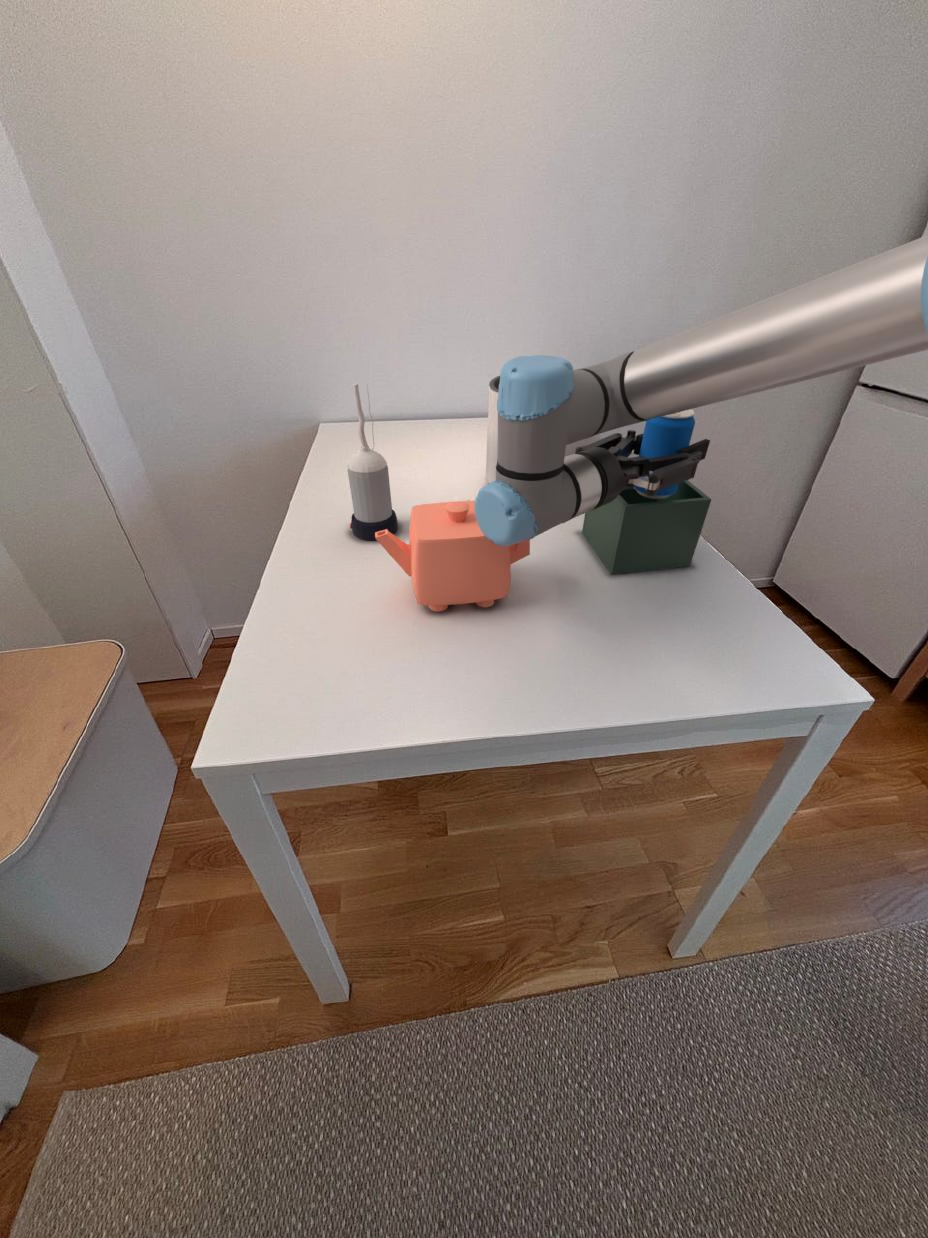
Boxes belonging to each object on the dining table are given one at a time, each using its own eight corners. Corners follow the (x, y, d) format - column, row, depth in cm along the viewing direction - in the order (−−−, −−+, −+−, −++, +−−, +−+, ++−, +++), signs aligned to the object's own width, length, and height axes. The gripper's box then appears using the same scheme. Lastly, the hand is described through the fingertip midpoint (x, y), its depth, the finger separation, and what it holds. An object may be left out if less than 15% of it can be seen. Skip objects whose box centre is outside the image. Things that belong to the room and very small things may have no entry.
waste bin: (690, 566, 84) (711, 499, 77) (611, 574, 82) (625, 506, 75) (652, 526, 95) (668, 464, 87) (581, 533, 93) (591, 470, 85)
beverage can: (670, 483, 81) (691, 404, 74) (680, 501, 76) (703, 418, 69) (628, 482, 82) (645, 403, 74) (635, 500, 77) (653, 417, 69)
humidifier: (346, 525, 95) (322, 381, 80) (387, 515, 98) (372, 374, 83) (361, 545, 90) (339, 394, 74) (405, 533, 93) (392, 386, 77)
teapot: (384, 622, 73) (372, 534, 64) (382, 573, 83) (371, 491, 74) (535, 608, 75) (544, 521, 67) (516, 562, 85) (521, 481, 76)
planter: (607, 478, 111) (625, 378, 99) (563, 519, 97) (577, 408, 84) (517, 457, 121) (523, 363, 108) (465, 491, 106) (465, 388, 94)
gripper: (525, 485, 74) (625, 448, 86) (638, 538, 63) (736, 486, 74) (529, 433, 70) (634, 401, 81) (652, 479, 58) (755, 434, 69)
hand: (683, 442), depth 77 cm, fingers closed on beverage can, 6 cm apart
